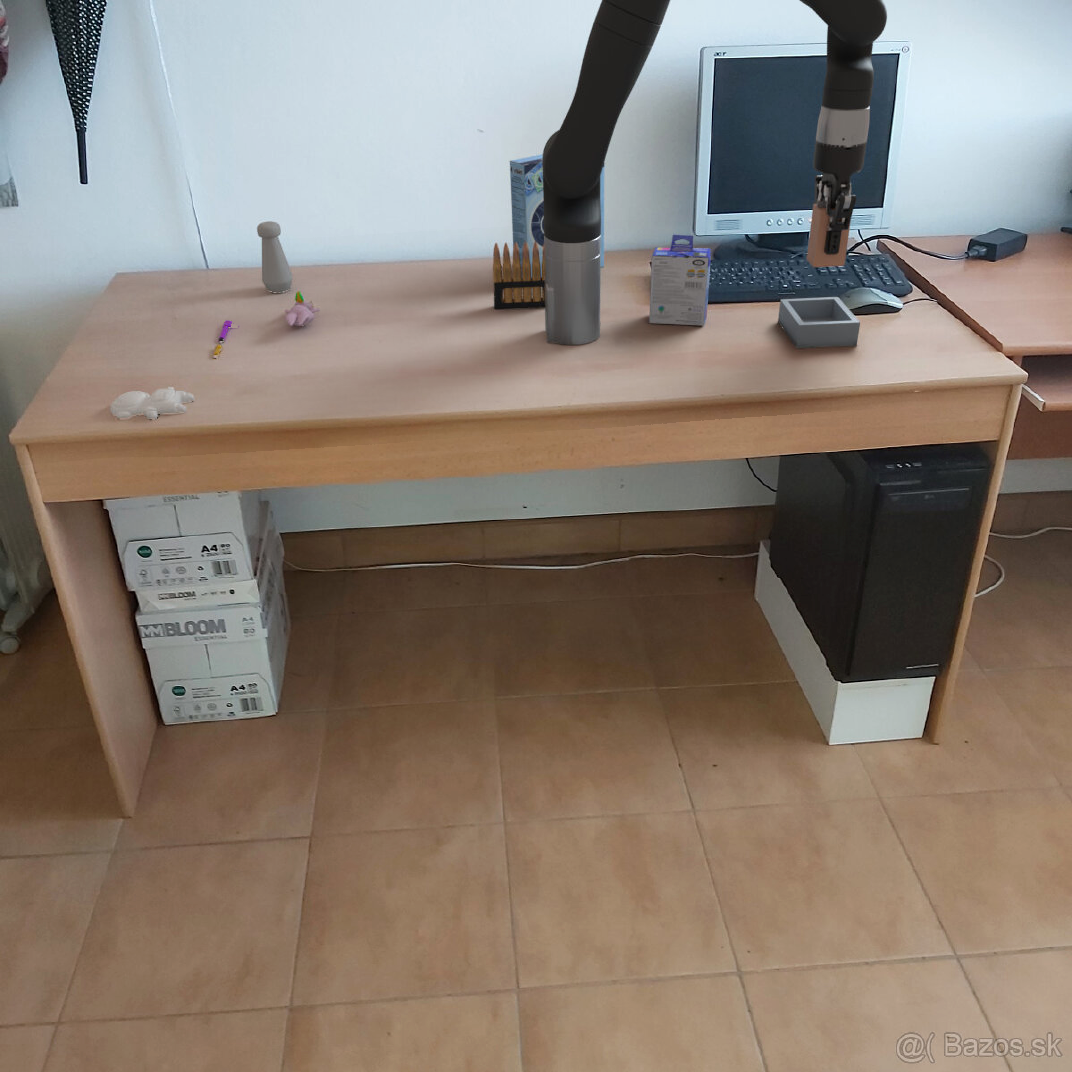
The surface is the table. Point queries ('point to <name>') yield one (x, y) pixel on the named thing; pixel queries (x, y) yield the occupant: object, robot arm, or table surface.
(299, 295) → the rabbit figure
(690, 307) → the ink cartridge box
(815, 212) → the tan slab
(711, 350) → the table surface
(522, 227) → the blue fan box
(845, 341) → the organizer bin
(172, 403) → the white flat lumpy piece
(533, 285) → the ammunition clip
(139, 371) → the table surface
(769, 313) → the table surface
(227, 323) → the marker pen
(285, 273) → the salt shaker
